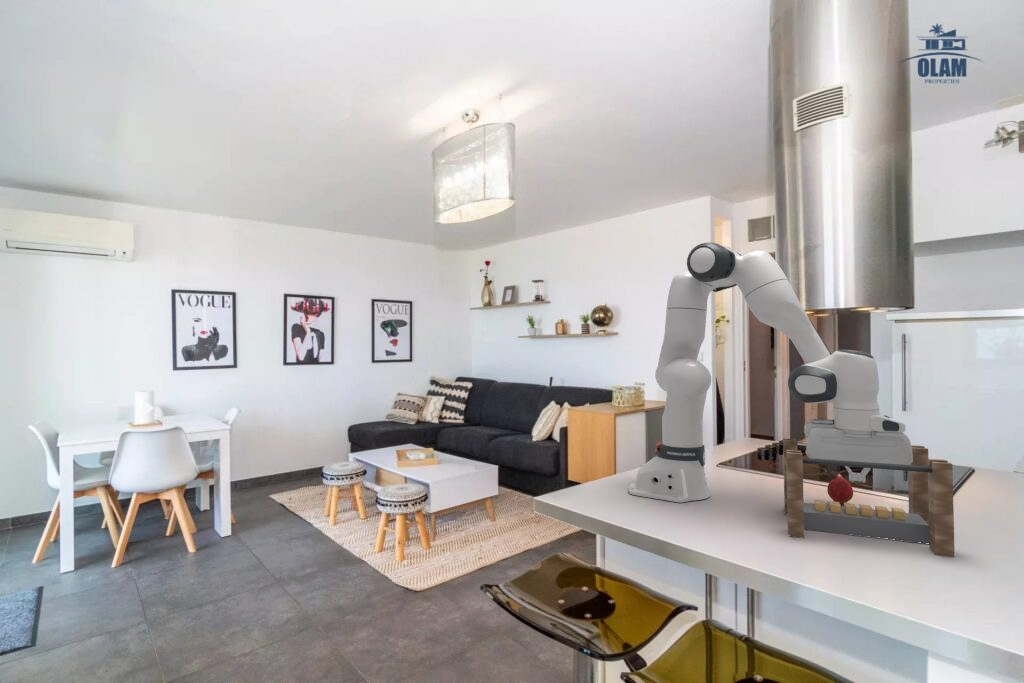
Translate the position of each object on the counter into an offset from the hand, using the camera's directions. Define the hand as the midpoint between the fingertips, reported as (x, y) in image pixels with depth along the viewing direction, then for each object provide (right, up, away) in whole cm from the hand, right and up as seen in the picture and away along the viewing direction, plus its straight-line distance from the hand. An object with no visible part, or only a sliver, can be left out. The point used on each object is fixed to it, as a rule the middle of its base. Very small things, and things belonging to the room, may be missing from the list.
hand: (857, 481), depth 118 cm
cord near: (-4, +5, -7) cm, 9 cm away
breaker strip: (0, -11, 0) cm, 11 cm away
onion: (+8, -11, +18) cm, 23 cm away
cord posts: (0, -11, 0) cm, 11 cm away
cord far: (+3, +5, +7) cm, 9 cm away
